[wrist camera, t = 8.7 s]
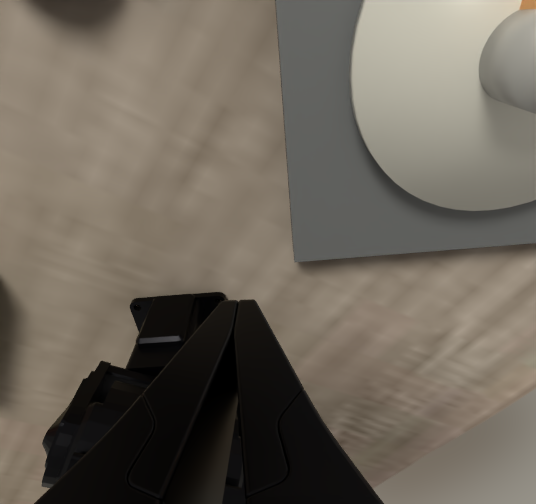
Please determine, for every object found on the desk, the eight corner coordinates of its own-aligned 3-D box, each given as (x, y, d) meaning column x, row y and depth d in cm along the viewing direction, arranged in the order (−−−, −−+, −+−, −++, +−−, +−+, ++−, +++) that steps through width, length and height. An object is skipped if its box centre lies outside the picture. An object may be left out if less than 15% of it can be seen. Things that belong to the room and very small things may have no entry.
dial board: (627, 222, 22) (653, 236, 21) (293, 249, 23) (294, 264, 22) (878, -335, 12) (967, -386, 10) (257, -240, 13) (256, -275, 12)
